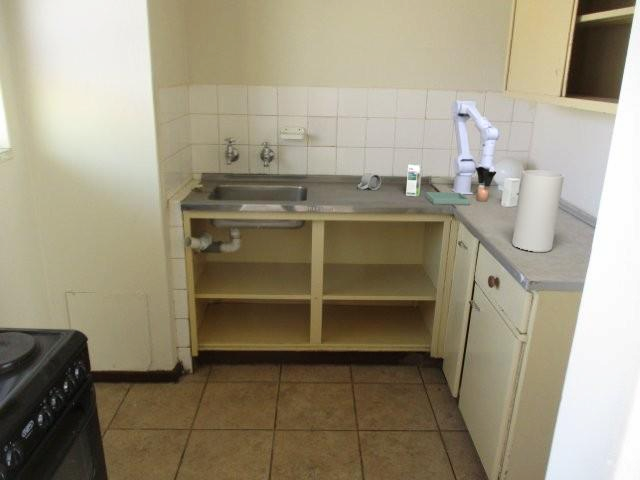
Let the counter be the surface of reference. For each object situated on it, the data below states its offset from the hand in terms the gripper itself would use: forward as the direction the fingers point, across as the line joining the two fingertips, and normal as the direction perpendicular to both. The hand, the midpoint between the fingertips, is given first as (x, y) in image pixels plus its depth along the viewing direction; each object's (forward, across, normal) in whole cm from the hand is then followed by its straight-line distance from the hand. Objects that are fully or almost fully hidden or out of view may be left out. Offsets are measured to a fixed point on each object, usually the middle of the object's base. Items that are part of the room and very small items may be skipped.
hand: (484, 184), depth 238 cm
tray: (+7, +2, -17) cm, 19 cm away
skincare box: (+8, +9, +9) cm, 15 cm away
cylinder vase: (+8, +67, -7) cm, 68 cm away
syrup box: (+8, -10, -30) cm, 33 cm away
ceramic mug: (+8, -23, -49) cm, 55 cm away
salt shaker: (+7, 0, 0) cm, 7 cm away
